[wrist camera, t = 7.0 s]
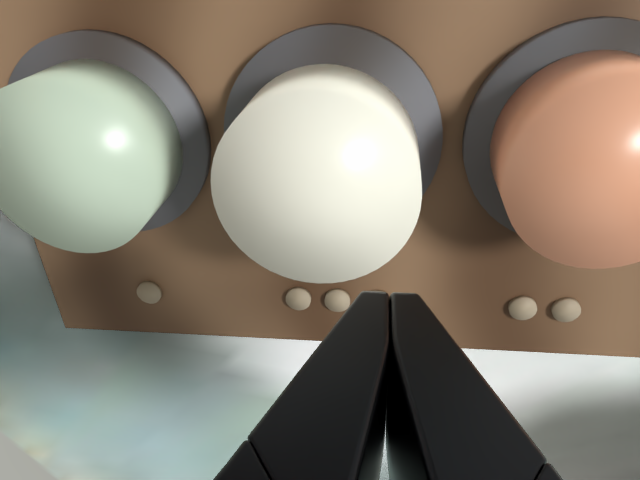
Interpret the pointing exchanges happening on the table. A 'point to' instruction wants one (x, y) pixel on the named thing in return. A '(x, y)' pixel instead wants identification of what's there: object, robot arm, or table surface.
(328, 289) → the button board
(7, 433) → the table surface
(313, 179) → the cream button
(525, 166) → the terracotta button
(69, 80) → the sage button
